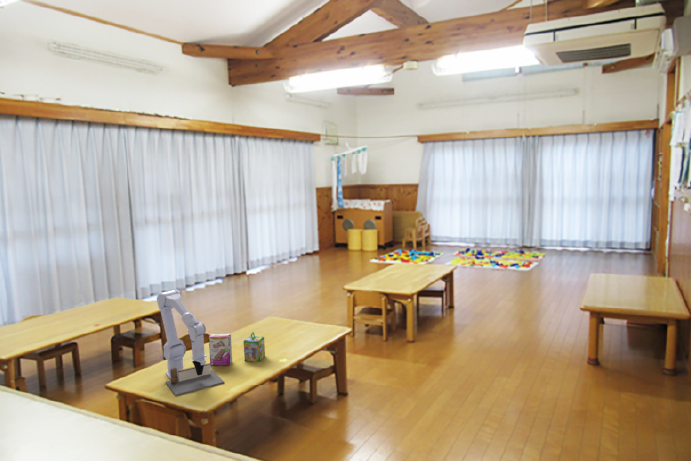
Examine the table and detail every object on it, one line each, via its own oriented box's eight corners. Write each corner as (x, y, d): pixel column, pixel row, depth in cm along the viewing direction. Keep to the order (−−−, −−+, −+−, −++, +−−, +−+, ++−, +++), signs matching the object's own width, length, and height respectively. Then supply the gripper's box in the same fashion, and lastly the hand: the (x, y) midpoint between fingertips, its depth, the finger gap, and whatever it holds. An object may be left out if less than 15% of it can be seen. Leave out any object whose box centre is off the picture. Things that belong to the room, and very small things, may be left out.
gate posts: (170, 384, 234) (169, 369, 233) (203, 374, 246) (202, 359, 245) (172, 386, 232) (171, 371, 231) (205, 376, 243) (204, 361, 243)
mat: (165, 383, 236) (165, 381, 236) (212, 371, 249) (212, 369, 249) (175, 396, 221) (175, 394, 221) (224, 383, 234) (224, 381, 234)
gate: (179, 381, 234) (178, 371, 234) (178, 381, 235) (178, 370, 235) (211, 373, 243) (210, 363, 243) (210, 372, 244) (209, 362, 244)
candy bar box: (210, 366, 257) (208, 336, 255) (212, 362, 262) (210, 333, 260) (230, 365, 257) (229, 336, 255) (232, 361, 262) (231, 333, 260)
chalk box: (259, 362, 260) (258, 336, 259) (244, 361, 262) (242, 335, 261) (265, 356, 269) (264, 330, 268) (250, 355, 271) (249, 330, 270)
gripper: (210, 350, 230) (212, 377, 231) (201, 342, 242) (203, 368, 243) (196, 353, 226) (197, 381, 227) (187, 345, 238) (189, 371, 239)
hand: (199, 374), depth 235 cm, fingers closed
